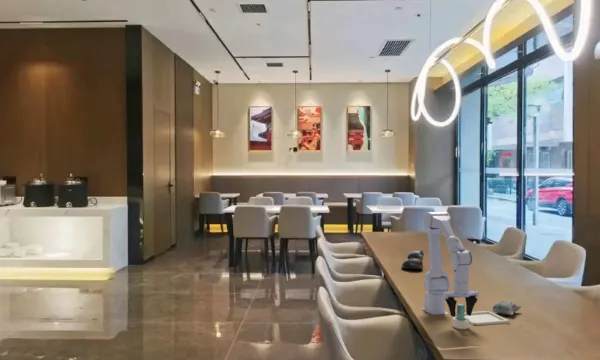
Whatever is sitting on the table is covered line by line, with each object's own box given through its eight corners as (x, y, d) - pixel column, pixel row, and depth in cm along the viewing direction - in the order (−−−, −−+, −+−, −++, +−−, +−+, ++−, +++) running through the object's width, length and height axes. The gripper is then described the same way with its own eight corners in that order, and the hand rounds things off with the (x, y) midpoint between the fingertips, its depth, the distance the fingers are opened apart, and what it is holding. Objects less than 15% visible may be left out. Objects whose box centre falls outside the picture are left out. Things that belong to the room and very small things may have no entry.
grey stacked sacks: (397, 268, 313) (400, 247, 319) (412, 274, 317) (415, 254, 323) (411, 265, 300) (415, 244, 306) (427, 272, 304) (430, 250, 310)
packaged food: (521, 312, 218) (521, 301, 218) (512, 318, 209) (512, 307, 209) (500, 309, 224) (500, 298, 224) (491, 315, 215) (491, 303, 214)
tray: (455, 316, 211) (455, 313, 211) (488, 314, 215) (488, 310, 215) (474, 326, 198) (474, 323, 197) (509, 324, 201) (509, 320, 201)
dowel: (455, 325, 197) (455, 304, 197) (461, 325, 198) (462, 303, 198) (459, 327, 194) (459, 306, 194) (465, 327, 195) (466, 305, 195)
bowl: (449, 326, 198) (449, 317, 198) (463, 325, 200) (463, 316, 200) (457, 330, 193) (458, 321, 192) (471, 329, 194) (471, 320, 194)
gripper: (449, 284, 190) (449, 319, 190) (483, 282, 193) (483, 317, 194) (440, 280, 197) (440, 314, 197) (473, 278, 200) (472, 312, 201)
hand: (460, 315), depth 196 cm, fingers open, 6 cm apart
